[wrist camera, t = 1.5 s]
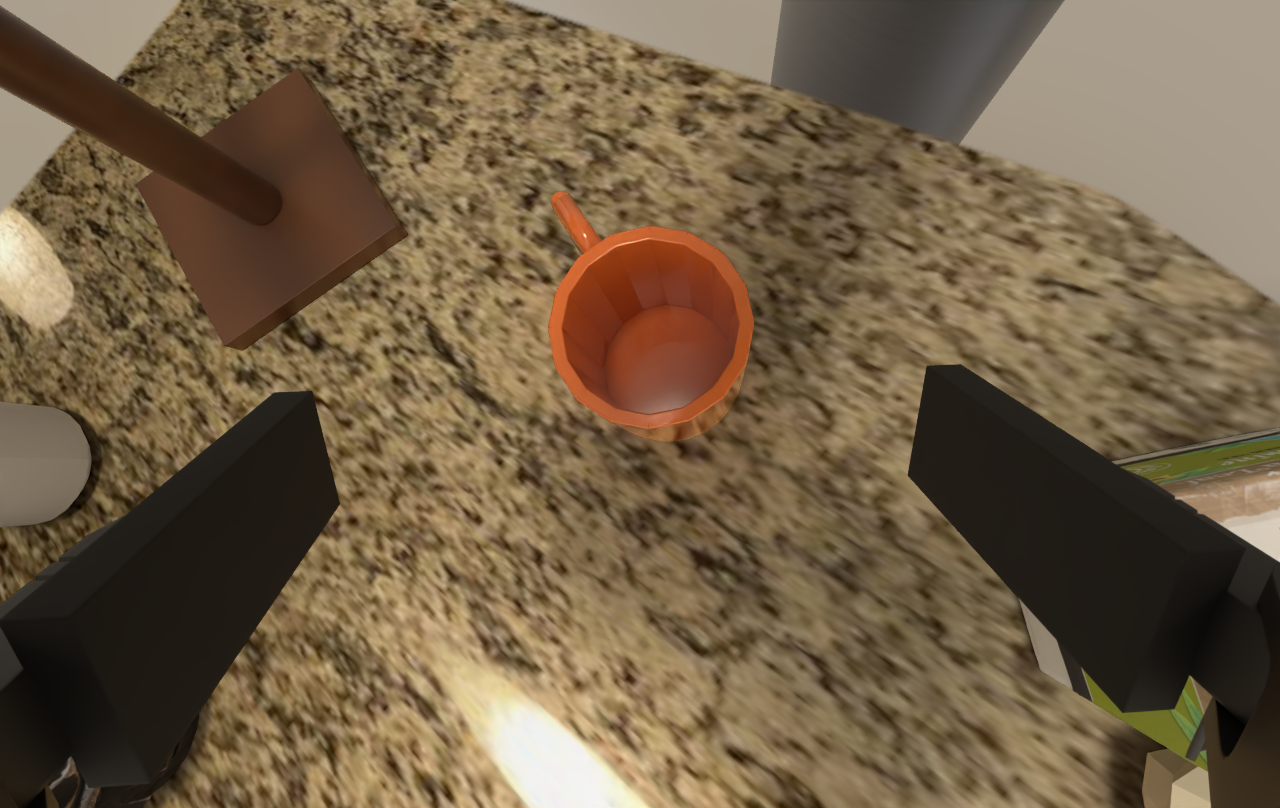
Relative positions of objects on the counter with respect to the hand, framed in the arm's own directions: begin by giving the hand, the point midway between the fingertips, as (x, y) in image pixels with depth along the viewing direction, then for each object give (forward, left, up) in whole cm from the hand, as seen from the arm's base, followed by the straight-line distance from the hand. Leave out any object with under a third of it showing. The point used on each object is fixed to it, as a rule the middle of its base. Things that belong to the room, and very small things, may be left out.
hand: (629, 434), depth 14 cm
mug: (-1, -7, -23) cm, 24 cm away
